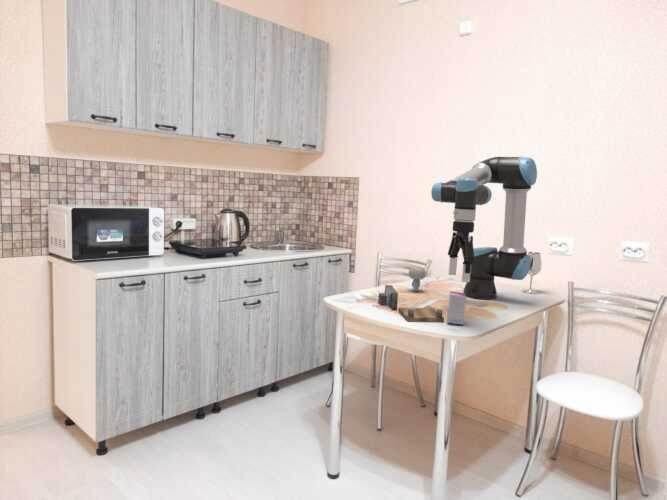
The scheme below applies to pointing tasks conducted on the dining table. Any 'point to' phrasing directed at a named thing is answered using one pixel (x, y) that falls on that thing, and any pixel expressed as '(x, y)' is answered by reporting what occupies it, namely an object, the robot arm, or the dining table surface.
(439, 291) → the dining table surface
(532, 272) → the wineglass
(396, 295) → the cabinet door
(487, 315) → the dining table surface
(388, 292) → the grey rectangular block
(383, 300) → the stop block
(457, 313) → the supplement box
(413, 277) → the figurine
